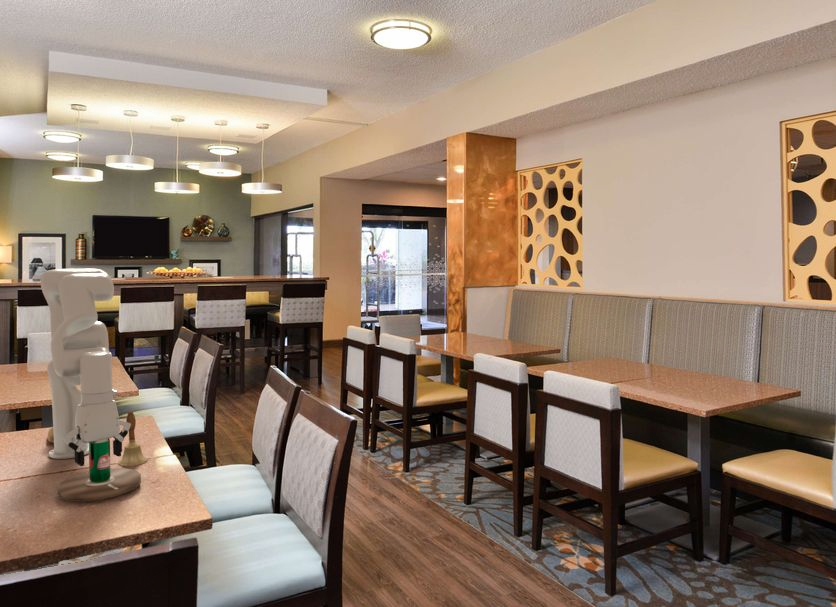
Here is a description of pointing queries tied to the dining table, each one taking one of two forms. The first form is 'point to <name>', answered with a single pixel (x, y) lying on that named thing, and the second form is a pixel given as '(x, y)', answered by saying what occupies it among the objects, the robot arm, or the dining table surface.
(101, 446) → the soda can
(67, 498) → the turntable
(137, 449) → the hand bell
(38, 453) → the dining table surface
